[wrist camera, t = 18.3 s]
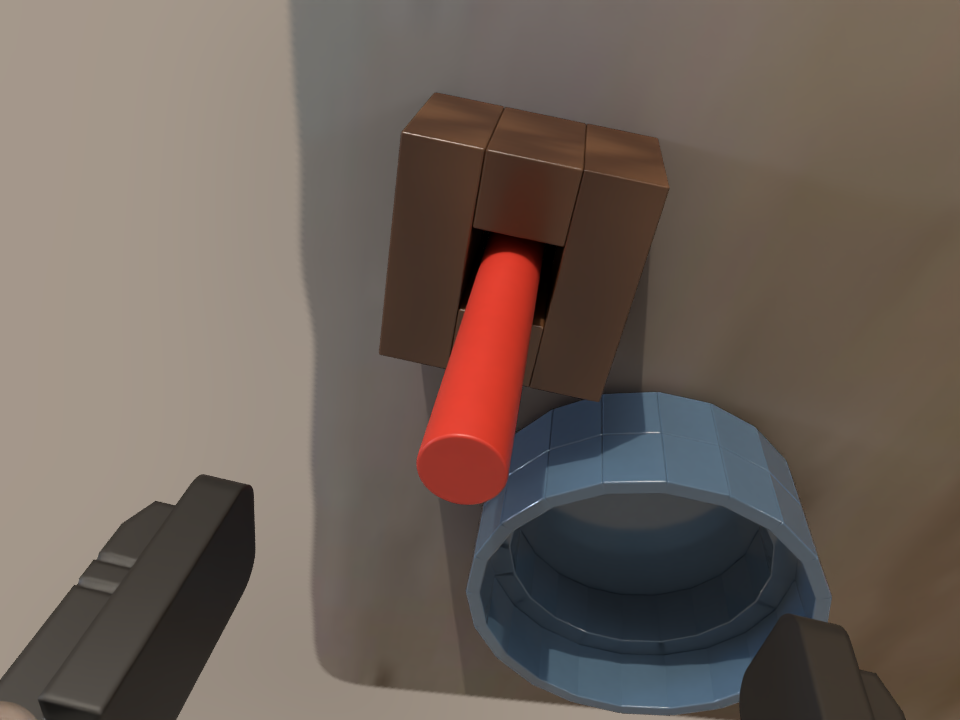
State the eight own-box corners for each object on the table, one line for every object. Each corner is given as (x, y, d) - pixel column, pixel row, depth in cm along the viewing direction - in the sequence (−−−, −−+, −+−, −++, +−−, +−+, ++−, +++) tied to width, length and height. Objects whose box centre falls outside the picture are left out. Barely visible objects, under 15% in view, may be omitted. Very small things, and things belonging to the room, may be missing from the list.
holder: (658, 137, 24) (670, 187, 20) (599, 330, 29) (599, 403, 25) (434, 91, 25) (400, 131, 21) (410, 289, 29) (378, 355, 25)
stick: (553, 203, 26) (516, 447, 15) (542, 252, 27) (498, 514, 16) (500, 192, 26) (421, 426, 15) (491, 241, 27) (410, 494, 16)
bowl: (850, 426, 30) (900, 533, 25) (729, 631, 38) (748, 743, 33) (516, 353, 30) (500, 444, 25) (466, 572, 38) (446, 673, 33)
